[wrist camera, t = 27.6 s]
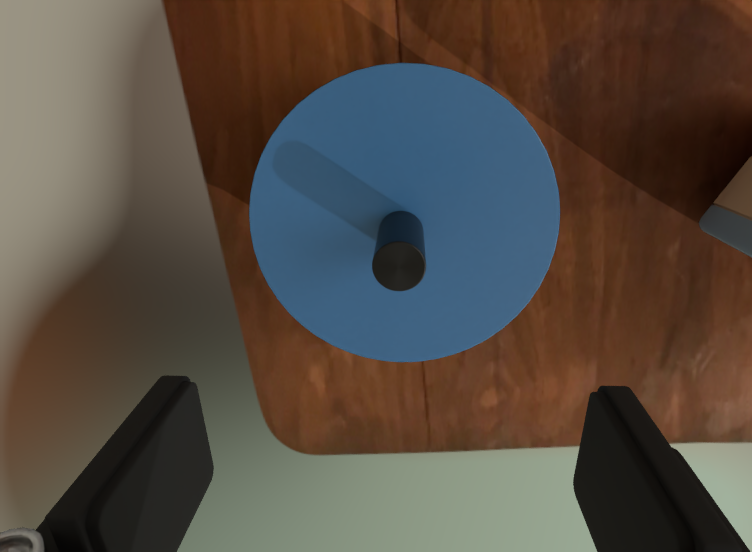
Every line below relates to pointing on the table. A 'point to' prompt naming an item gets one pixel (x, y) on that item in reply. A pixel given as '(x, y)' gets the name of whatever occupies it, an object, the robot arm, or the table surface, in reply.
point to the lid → (404, 212)
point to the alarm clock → (733, 212)
